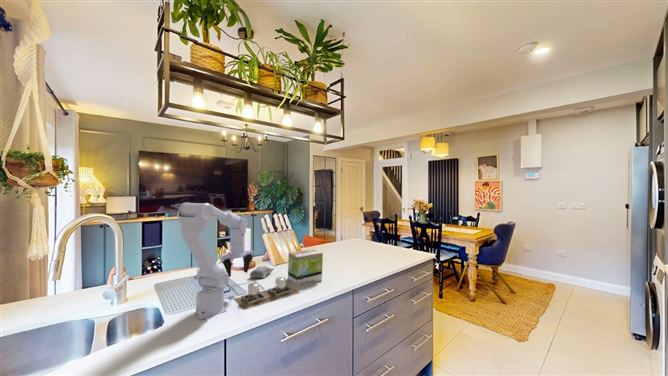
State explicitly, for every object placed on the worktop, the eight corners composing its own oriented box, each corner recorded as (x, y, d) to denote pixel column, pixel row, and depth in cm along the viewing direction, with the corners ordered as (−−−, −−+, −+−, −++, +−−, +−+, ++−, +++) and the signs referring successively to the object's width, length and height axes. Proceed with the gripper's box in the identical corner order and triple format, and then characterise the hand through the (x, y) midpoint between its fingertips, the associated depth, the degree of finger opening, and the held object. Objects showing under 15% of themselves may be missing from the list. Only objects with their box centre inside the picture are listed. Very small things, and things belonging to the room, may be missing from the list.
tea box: (297, 287, 122) (297, 257, 122) (287, 281, 130) (287, 252, 129) (322, 280, 131) (323, 252, 131) (311, 275, 139) (312, 248, 139)
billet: (278, 295, 110) (278, 281, 110) (273, 291, 113) (273, 278, 113) (287, 292, 113) (287, 279, 113) (282, 289, 116) (282, 276, 116)
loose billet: (249, 302, 103) (249, 287, 103) (246, 298, 107) (246, 284, 107) (260, 299, 105) (260, 285, 105) (257, 295, 109) (257, 281, 109)
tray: (238, 298, 109) (238, 295, 109) (229, 289, 119) (229, 286, 119) (264, 291, 117) (264, 288, 117) (254, 283, 126) (254, 280, 126)
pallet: (243, 313, 97) (243, 306, 97) (233, 302, 106) (233, 295, 106) (300, 296, 112) (300, 290, 112) (287, 287, 122) (287, 282, 122)
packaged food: (273, 273, 141) (273, 264, 141) (264, 281, 130) (264, 271, 130) (258, 272, 142) (258, 264, 142) (248, 280, 131) (248, 271, 131)
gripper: (225, 247, 105) (224, 280, 105) (257, 242, 115) (256, 272, 115) (218, 245, 110) (218, 276, 110) (249, 240, 120) (249, 268, 120)
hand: (237, 274), depth 113 cm, fingers open, 7 cm apart
